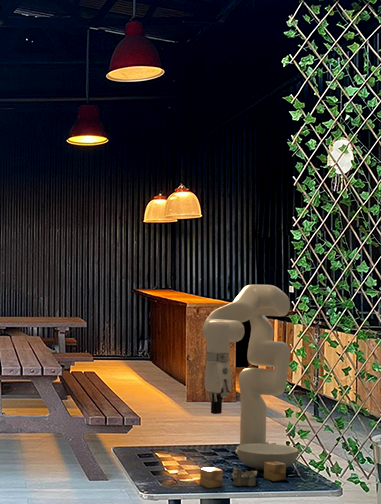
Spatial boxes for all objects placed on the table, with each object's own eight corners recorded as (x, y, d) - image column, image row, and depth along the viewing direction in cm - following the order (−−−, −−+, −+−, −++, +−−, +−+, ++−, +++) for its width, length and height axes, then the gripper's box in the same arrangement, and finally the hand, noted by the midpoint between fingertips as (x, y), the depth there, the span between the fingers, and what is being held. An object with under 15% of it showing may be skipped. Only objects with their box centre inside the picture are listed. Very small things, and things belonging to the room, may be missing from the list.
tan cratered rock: (233, 478, 271) (233, 465, 271) (257, 480, 270) (257, 466, 270) (231, 486, 260) (231, 472, 261) (255, 487, 259) (256, 473, 260)
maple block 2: (276, 476, 276) (276, 460, 276) (285, 479, 271) (285, 463, 272) (263, 477, 273) (264, 462, 273) (272, 481, 269) (273, 465, 269)
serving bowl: (307, 467, 292) (307, 447, 292) (282, 477, 274) (282, 456, 274) (253, 460, 302) (253, 440, 302) (225, 469, 284) (225, 448, 284)
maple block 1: (213, 483, 264) (214, 466, 264) (222, 486, 259) (222, 470, 259) (200, 484, 261) (200, 468, 261) (208, 488, 257) (208, 471, 257)
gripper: (239, 359, 278) (238, 416, 277) (215, 356, 291) (213, 410, 290) (220, 360, 274) (218, 417, 273) (196, 356, 287) (194, 411, 286)
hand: (216, 413), depth 282 cm, fingers closed
